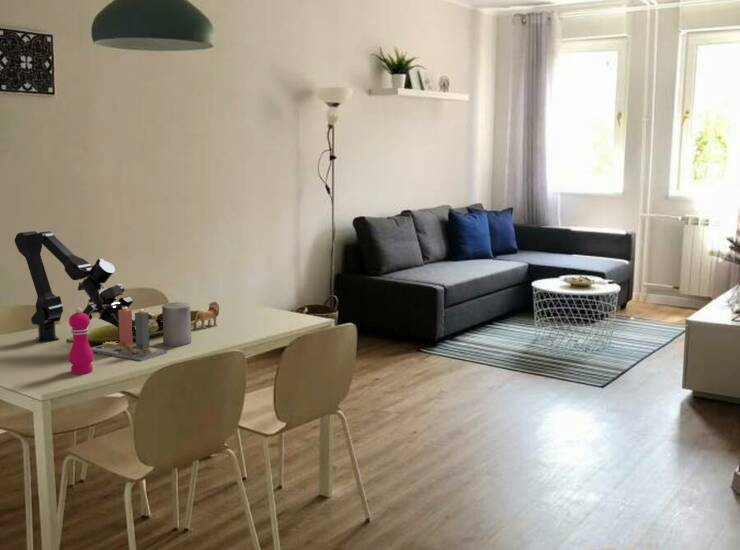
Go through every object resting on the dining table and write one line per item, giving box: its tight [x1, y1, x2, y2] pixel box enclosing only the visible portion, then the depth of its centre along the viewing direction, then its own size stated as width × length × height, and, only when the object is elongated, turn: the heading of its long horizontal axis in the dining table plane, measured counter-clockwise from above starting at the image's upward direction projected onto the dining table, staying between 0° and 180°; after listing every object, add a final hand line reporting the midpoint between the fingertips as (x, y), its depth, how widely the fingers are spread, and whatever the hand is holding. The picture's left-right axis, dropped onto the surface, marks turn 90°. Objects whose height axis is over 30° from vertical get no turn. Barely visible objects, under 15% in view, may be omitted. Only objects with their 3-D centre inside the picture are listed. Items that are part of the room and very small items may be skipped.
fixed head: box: [133, 309, 150, 353], centre depth 268 cm, size 3×5×14 cm, turn 151°
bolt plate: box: [91, 341, 168, 362], centre depth 272 cm, size 24×12×2 cm, turn 61°
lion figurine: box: [192, 301, 220, 330], centre depth 311 cm, size 15×5×9 cm, turn 157°
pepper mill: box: [68, 307, 95, 375], centre depth 247 cm, size 7×7×20 cm
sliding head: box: [116, 307, 134, 350], centre depth 272 cm, size 3×5×14 cm, turn 151°
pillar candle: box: [161, 301, 192, 347], centre depth 285 cm, size 10×10×15 cm
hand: (121, 327), depth 274 cm, fingers closed
